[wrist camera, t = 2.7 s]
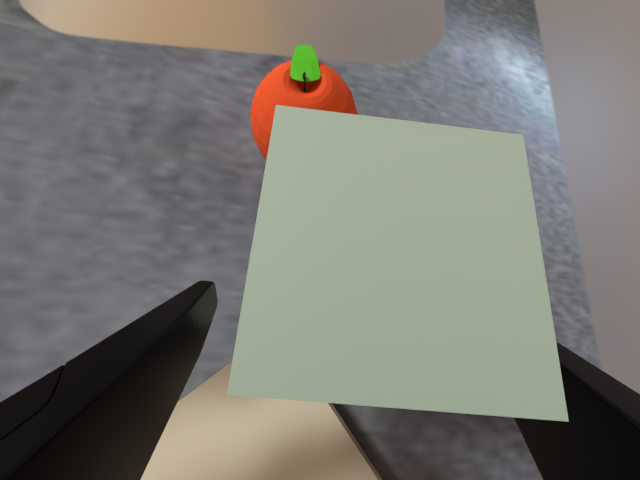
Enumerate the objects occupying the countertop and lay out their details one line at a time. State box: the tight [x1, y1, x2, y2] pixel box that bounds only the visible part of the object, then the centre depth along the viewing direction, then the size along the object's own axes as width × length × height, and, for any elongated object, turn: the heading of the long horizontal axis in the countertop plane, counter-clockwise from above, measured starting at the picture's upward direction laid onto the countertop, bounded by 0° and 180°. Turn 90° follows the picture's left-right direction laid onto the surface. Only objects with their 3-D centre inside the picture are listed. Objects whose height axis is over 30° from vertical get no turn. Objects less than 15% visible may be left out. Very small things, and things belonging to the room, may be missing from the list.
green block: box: [227, 105, 569, 422], centre depth 10 cm, size 5×5×13 cm
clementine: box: [250, 45, 357, 160], centre depth 16 cm, size 8×7×7 cm
